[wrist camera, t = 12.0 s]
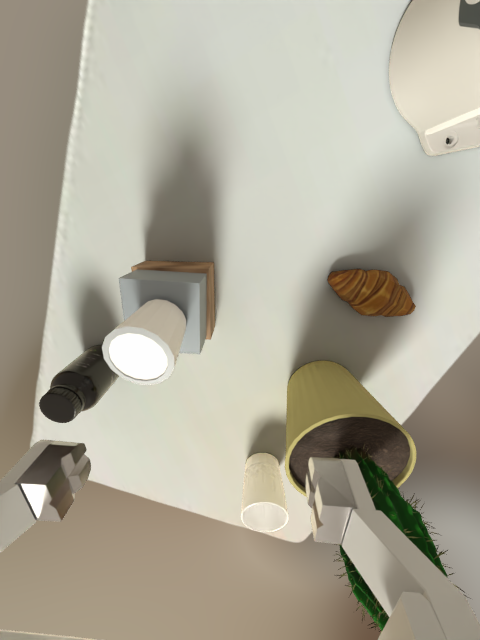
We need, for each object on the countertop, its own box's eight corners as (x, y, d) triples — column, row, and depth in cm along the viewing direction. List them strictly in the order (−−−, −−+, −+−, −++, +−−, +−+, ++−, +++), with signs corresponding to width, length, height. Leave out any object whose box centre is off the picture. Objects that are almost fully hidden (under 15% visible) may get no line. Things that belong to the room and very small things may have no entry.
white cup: (247, 446, 51) (246, 498, 42) (286, 453, 51) (294, 507, 42) (239, 473, 54) (236, 527, 45) (276, 480, 54) (281, 535, 45)
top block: (206, 273, 33) (199, 283, 29) (206, 336, 37) (200, 354, 32) (137, 269, 33) (118, 278, 29) (143, 332, 37) (127, 349, 32)
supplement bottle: (130, 375, 46) (91, 427, 34) (94, 379, 46) (44, 432, 35) (117, 340, 43) (70, 385, 32) (79, 346, 44) (20, 391, 33)
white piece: (125, 295, 29) (89, 328, 23) (185, 292, 28) (164, 325, 22) (142, 346, 32) (115, 386, 26) (196, 344, 32) (181, 385, 25)
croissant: (421, 285, 38) (445, 295, 33) (395, 325, 40) (413, 339, 36) (338, 251, 36) (350, 256, 32) (316, 294, 39) (324, 305, 34)
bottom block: (213, 262, 38) (208, 268, 33) (215, 325, 42) (210, 339, 37) (145, 260, 38) (131, 267, 33) (153, 323, 42) (141, 337, 37)
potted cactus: (281, 344, 42) (339, 598, 14) (376, 353, 42) (619, 624, 14) (269, 418, 48) (295, 699, 20) (352, 426, 48) (493, 719, 20)
